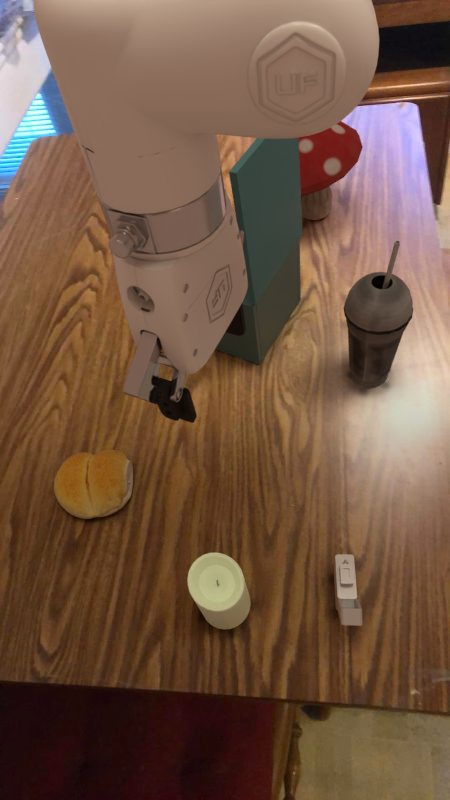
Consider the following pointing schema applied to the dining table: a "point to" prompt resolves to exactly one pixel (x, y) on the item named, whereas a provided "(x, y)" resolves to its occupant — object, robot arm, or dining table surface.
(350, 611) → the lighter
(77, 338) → the dining table surface
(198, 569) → the candle
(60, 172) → the dining table surface
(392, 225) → the dining table surface
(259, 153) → the lid
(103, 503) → the bread roll
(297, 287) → the chest
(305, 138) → the decorative mushroom
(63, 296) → the dining table surface
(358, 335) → the beverage cup
